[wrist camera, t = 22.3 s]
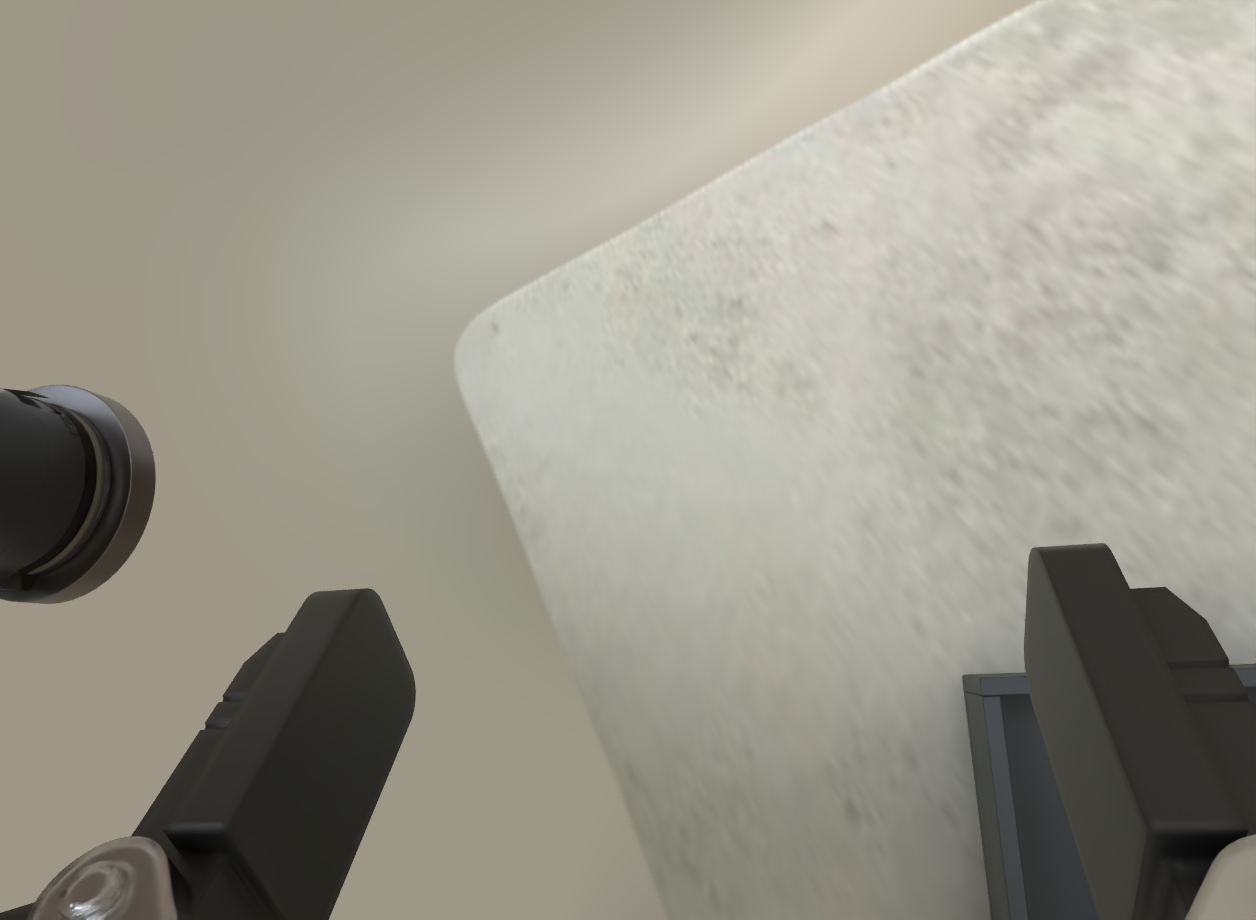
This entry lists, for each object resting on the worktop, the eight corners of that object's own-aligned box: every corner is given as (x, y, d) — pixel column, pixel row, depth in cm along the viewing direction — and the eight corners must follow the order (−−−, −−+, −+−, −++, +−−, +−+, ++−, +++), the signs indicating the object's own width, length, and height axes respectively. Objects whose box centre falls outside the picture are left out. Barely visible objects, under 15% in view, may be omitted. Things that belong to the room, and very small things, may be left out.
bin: (1442, 1079, 29) (1558, 1161, 25) (1007, 1057, 32) (1035, 1128, 27) (1353, 659, 32) (1441, 660, 28) (961, 674, 35) (979, 677, 30)
